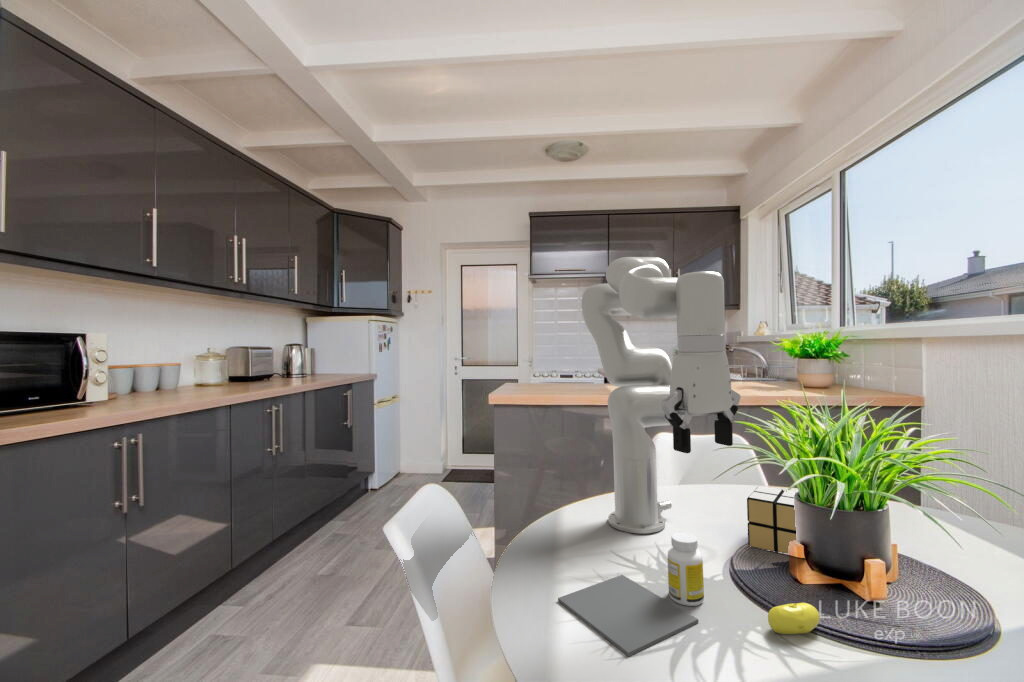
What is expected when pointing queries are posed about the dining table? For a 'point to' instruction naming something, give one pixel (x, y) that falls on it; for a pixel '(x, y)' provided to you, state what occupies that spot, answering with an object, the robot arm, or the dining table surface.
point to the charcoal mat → (627, 613)
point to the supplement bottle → (685, 570)
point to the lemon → (793, 618)
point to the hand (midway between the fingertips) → (703, 447)
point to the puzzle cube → (771, 519)
